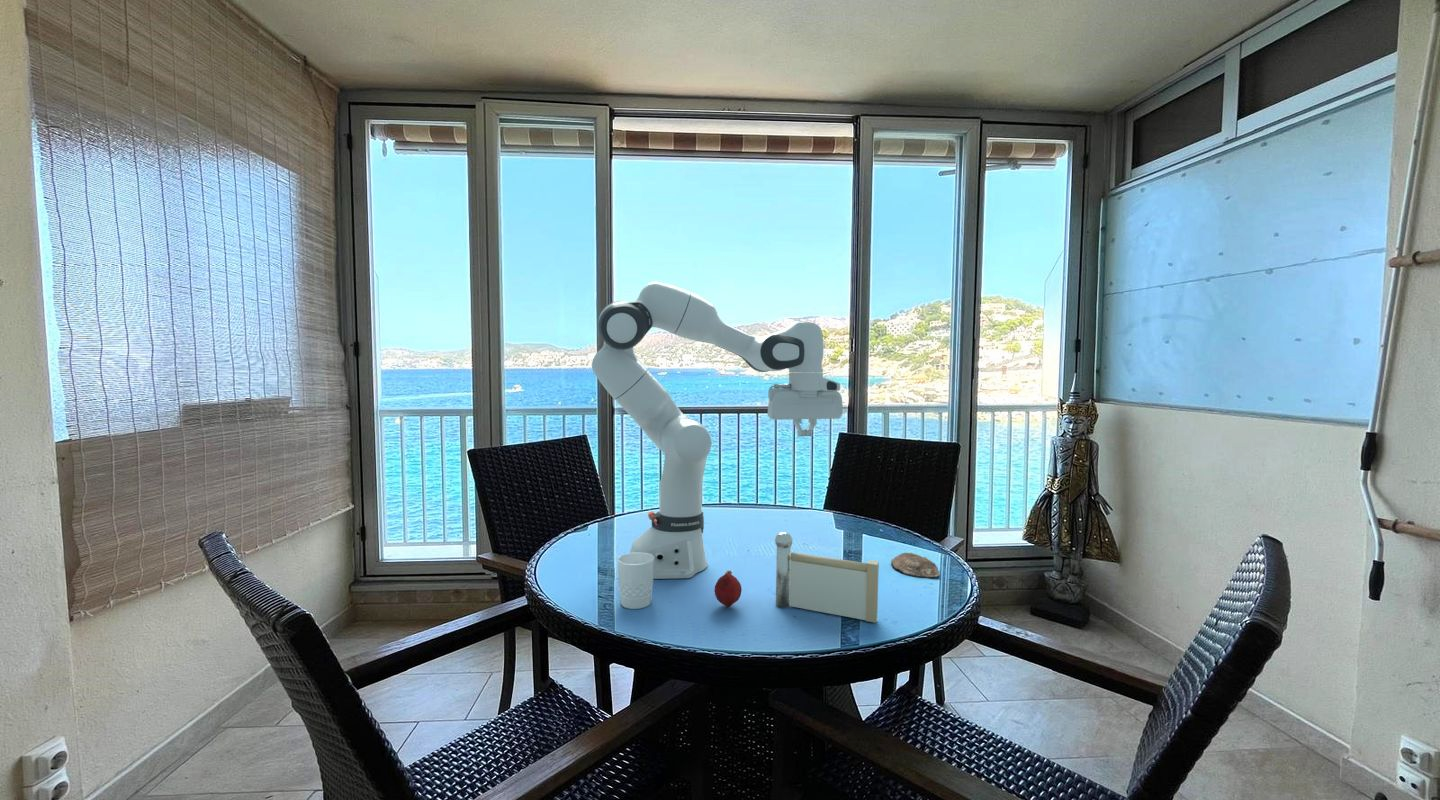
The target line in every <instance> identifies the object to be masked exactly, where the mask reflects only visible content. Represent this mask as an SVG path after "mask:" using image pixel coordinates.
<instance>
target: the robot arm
mask: <svg viewBox="0 0 1440 800" xmlns="http://www.w3.org/2000/svg"><path fill="white" fill-rule="evenodd" d="M597 324H598V325H597V326H598V332H599V335H600V338H601V339H602V340H603V345H602V347H601V348H600V349H599V350H598V351H597V352H596V353H595V355H594V357H593V359H592V360H591V361H592V362H591V369H592V372H593V373H594V375H595V377H596V378H597V380H598V381H599V383H600V384H601V385H602V386H603V388H604V389H605V391H607V393H608V394H609V396H611V397H612V398H613V399H614V400H615V402H616V403H617V404H618V405H619V406H620V407H621V408H622V409H623V410H624V411H625V412H626V413H627V414H628V415H629V417H631V418H632V419H633V420H634V422H635V423H636V424H637V425H638V426H639V428H640V429H641V430H642V431H643V432H644V434H645V435H646V436H647V437H648V439H650V441H652V443H653V444H654V445H655V446H656V447H657V448H658V449H659V450H660V451H661V452H662V453H663V454H664V462H663V469H662V474H661V478H660V480H659V511H657V512H655V511H653V510H651V511H649V512H648V514H647V517H648V518H649V520H650V521H651V527H649V528H648V529H646V531H644V532H643V533H642V534H641V535H639V536H638V537H637V538H635V539H634V540H633V541H632V544H631V547H630V549H629V550H630V551H629V553H635V552H642V553H648V554H651V555H653V556H654V573H653V580H655V579H659V580H660V579H665V580H666V579H690V578H692V577H694V575H695V574H698V573H699V572H701V571H703V570H705V569H707V568H708V561H707V556H706V554H705V553H706V552H705V547H704V538H703V533H704V529H705V528H704V527H705V522H704V521H705V518H704V517H705V516H704V512H703V509H702V508H703V506H702V505H703V481H704V473H705V471H706V470H705V469H706V466H707V465H706V464H707V457H708V455H709V454H710V452H711V450H712V438H711V437H712V436H711V435H710V433H709V431H708V430H707V428H706V427H705V426H704V425H703V423H700V422H699V421H697V420H693V419H691V418H689V417H687V416H686V415H685V413H683V412H682V411H681V409H680V407H678V405H677V404H676V403H675V401H674V400H673V399H672V397H671V395H670V394H669V392H668V391H667V390H666V389H665V387H664V386H663V384H661V383H660V382H659V381H658V380H657V378H656V377H655V376H654V375H653V374H652V372H650V371H649V370H648V369H647V368H646V366H645V365H644V364H643V363H642V362H641V361H640V360H639V359H638V357H637V356H636V354H635V351H634V347H636V346H637V345H638V344H640V343H641V341H642V340H643V339H644V338H645V336H646V335H647V333H649V331H650V330H651V329H652V328H657V329H660V330H664V331H666V332H668V333H671V334H673V335H675V336H678V337H681V338H684V339H688V340H691V341H694V342H695V341H696V342H701V343H707V344H711V345H714V346H716V347H719V348H721V349H723V350H725V351H728V352H729V353H732V354H733V355H736V356H739V358H741V359H742V360H743V361H744V362H745V363H746V364H747V365H748V366H749V367H750V368H751V369H753V370H754V371H756V372H759V373H766V372H780V371H783V370H786V369H788V383H780V384H779V383H774V384H773V385H772V386H770V387H769V388H768V405H767V417H768V418H769V419H770V420H773V421H774V420H775V421H776V420H779V421H780V420H782V421H783V420H785V421H787V420H793V425H794V426H795V428H796V430H797V432H796V433H797V435H796V436H797V437H800V438H801V437H813V430H814V428H815V427H816V426H817V424H818V423H817V422H818V420H831V419H833V420H837V419H839V420H840V418H841V417H842V416H843V397H842V394H841V393H840V392H839V391H840V390H841V383H840V382H837V381H835V380H831V379H828V378H826V377H824V370H823V365H822V364H823V359H824V336H823V330H822V329H821V327H820V326H819V325H818V324H816V323H814V322H811V321H803V320H797V321H794V322H792V323H791V324H790V325H789V326H787V327H785V328H783V329H781V330H778V331H775V332H773V333H771V334H764V335H751V334H748V333H747V332H744V331H742V330H741V329H737V328H735V327H734V326H731V325H729V324H727V323H725V322H724V321H723V320H722V319H721V318H720V316H719V315H718V312H717V310H716V308H715V306H714V304H712V303H711V302H709V301H708V300H706V299H705V298H703V297H702V296H699V295H698V294H696V293H693V292H690V290H689V291H688V290H686V289H683V288H681V287H678V286H675V285H673V284H668V283H663V282H659V281H652V282H649V283H647V284H646V285H645V286H644V287H643V288H642V289H641V291H640V293H639V295H638V297H637V298H636V300H635V301H631V302H628V301H626V300H625V301H624V300H617V301H613V302H610V303H609V304H607V305H606V306H605V307H604V308H603V309H602V310H601V312H600V314H599V317H598V321H597ZM803 420H808V423H809V425H808V426H807V428H806V429H803V428H802V426H801V424H802V423H803V422H802V421H803Z"/></svg>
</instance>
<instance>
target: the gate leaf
mask: <svg viewBox="0 0 1440 800" xmlns="http://www.w3.org/2000/svg"><path fill="white" fill-rule="evenodd" d="M879 562H880V561H879V560H872V559H868V561H867V562H862V561H861V562H860V561H856V560H855V561H854V560H848V559H841V558H833V557H827V556H820V555H814V554H806V553H799V552H792V551H790V604H789V607H793V608H798V609H799V608H800V609H804V610H810V611H814V612H821V613H826V614H830V615H837V616H841V617H848V618H852V619H857V620H863V621H865V622H869V623H870V622H871V623H874V624H876V623H877V620H878V603H879V601H878V600H879V567H880V564H879Z"/></svg>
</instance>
